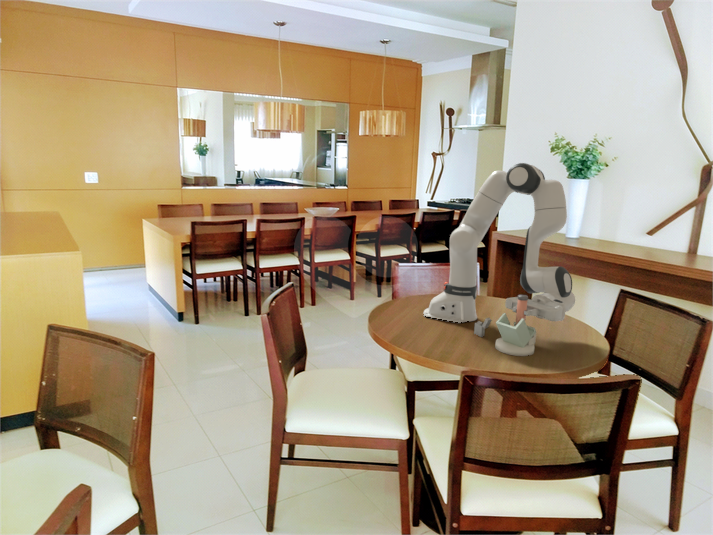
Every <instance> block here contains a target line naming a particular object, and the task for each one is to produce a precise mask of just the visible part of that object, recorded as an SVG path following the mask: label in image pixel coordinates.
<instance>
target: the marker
mask: <svg viewBox="0 0 713 535" xmlns="http://www.w3.org/2000/svg"><path fill="white" fill-rule="evenodd" d="M517 297H518V302H517V313H516V312H515V314H516V315H515V322H516V323H515V326H516V325H517V324H518V323H519V321H520V320H521V319H522V318H523V319H524V320H525V321H526V319H527V316H526V315H524V310H527V301H528V299H529V296H528V295H527V294H518V295H517Z"/></svg>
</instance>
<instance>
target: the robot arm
mask: <svg viewBox="0 0 713 535" xmlns="http://www.w3.org/2000/svg"><path fill="white" fill-rule="evenodd" d="M563 186H564V185H563V184H562V182H560V181H559V180H556V179H546V177H545V175H544V173H543V172H542V170H541V169H539V168H538V167H537V166H535V165H533V164H529V163H526V162H520V163H519V162H518V163H515V164H514V165H512V166H511V167H510V168H509V169H508V171H504V170H498V169H497V170H494V171H492V173H490V174H489V175H488V177H487V178H486V179H485V180H484V182H483V184H482V185H481V186H480V188H479V189H478V192H476V195H475V196H474V198H473V200H472V201H471V203H470V204H469V207H468V208H467V210H466V213H465V215H464V216H463V218H462V220H461V222H460V223H459V226H458V227H457V228H455V229H454V230H453V231H452V232H451V234H450V235H449V236H450V237H449V276H448V277H449V278H448V281H445V282H444V283H443V291H442V292H441V293H439V294H437V295H436V296H434V297H433V298H432V299H431V300H430V302H429V306H428V307H427V308H425V309H424V310H423V313H422V315H423V314H424V315H423V317H425V316H426V317H431V318H430V319H432V318H437V319H436V320H438V319H442V320H441V321H443V320H447V321H446V322H449V321H453V322H452V323H455V322H458V323H457V324H461V322H462V323H465V322H467V321H469V322H474V321H476V320H478V315H477V310H476V299H477V291H478V286H477V277H478V276H477V275H478V246H480V244H481V242H482V240H483V239H484V237H485V235H486V234H487V232H488V231H489V228H490V226H491V225H492V223H493V222H494V220H495V218H496V217H497V215H498V213H499V212H500V210H501V208H502V207H503V205H504V204H505V202H506V200H507V199H508V197H510V195H511V194H512V193H517V194H520V195H521V194H522V195H528V196H530V197H532V199H533V203H534V204H533V206H534V216H533V221H532V224H531V225H530V226H529V227H528V229H527V231H526V235H525V236H526V237H525V242H524V243H525V244H524V254H523V261H522V262H523V263H522V269H521V272H520V273H521V274H520V276H519V277H520V279H519V281H520V282H519V283H520V286H521V287H522V288H523V290H524V291H526V292H527V293H528V294H535V295H534V296H533V297H531V299H530V298H528V301H527V310H524V315H526V317H530V316H532V317H536V318H538V319H544V320H547V321H550V322H559V321H560V322H562V321H564V320H565V317H566V313H567V312H569V311H570V310H571V309H572V308H573V307H574V306H575V303H576V296H575V295H574V293H573V292H572V291H573V278H572V275H571V274H570V272H569V271H568V269H566V267H564V266H540V267H539V259H540V258H539V256H540V249H541V245H542V243H543V242H544V241H545V240H546V239H548V238H549V237H552V236H553V235H555V234H557V233H558V232H560V231H561V230H562V229H563V228H564V226H565V224H566V223H567V219H568V218H567V217H568V214H567V212H568V210H567V200H566V194H565V191H564V187H563ZM539 293H540V294H539ZM517 302H518V296H515V297H513V296H512V297H507V298H506V299H505V302H504V303H505V309H508V310H511V311H512V312H513V313H515V314H516V313H517ZM426 317H425V318H426ZM467 323H468V322H467Z"/></svg>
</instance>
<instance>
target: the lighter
mask: <svg viewBox="0 0 713 535" xmlns="http://www.w3.org/2000/svg"><path fill="white" fill-rule="evenodd" d="M492 321H493V320H492V319H491V318H490V317H486V318H485V320H484V321H483V322H482V321H480V320H477V322H474V328H473V330H474V331H473V335H475V334H476V336H477V335H478V337H480V338H484V337H485V332H486V329H488V328H489V326H490V324H491V322H492ZM483 336H484V337H483Z"/></svg>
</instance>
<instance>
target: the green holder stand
mask: <svg viewBox="0 0 713 535" xmlns="http://www.w3.org/2000/svg"><path fill="white" fill-rule="evenodd" d="M515 323H516V321H513V325H511V322H510V320H509V318H508V315H507V313H506V312H503V313H502V315H500V317H499V318H498V319H497V320H496V322H495V324H496V327H497V330H498V331H499V334H500V336H501V337H499V338H497V339H495V343H494V344H495V347H494V348H495V349H496V350H497V351H499V352H500V353H503V354H506V355H509V356H516V357H527V356H528V355H529V356H532V355H534V354H535V349H536V348H535V344H536V339H537V329H536V328H535V327H534V326H530V325H527V323H526V320H524V319H523V318H522V319H521V320H520V321H519V323H518V324H517V325H516V326H515Z"/></svg>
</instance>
